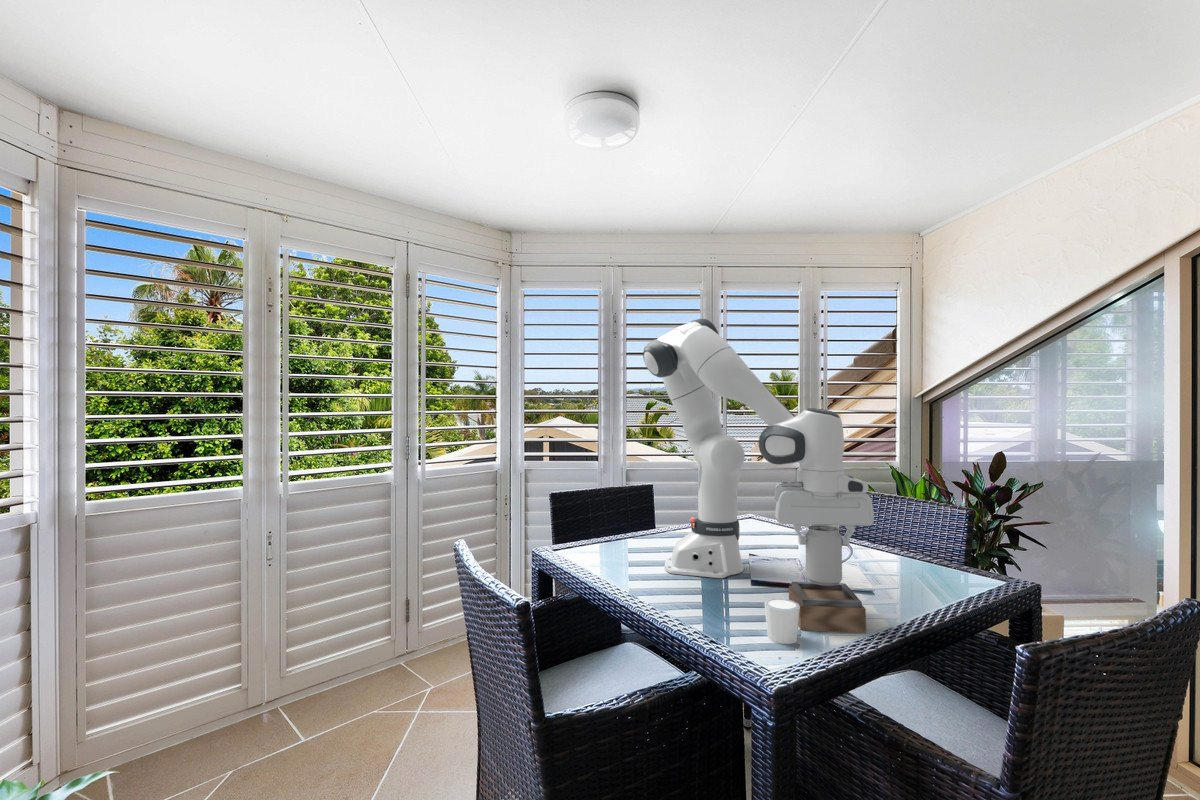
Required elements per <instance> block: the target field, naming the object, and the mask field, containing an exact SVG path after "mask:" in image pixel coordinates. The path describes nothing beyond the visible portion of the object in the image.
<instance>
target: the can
mask: <svg viewBox="0 0 1200 800" xmlns="http://www.w3.org/2000/svg"><path fill="white" fill-rule="evenodd" d="M807 529H808V530H807V531H806V532H805V534H804V535H805V536H806V537H807V541H806V542H807V545H805V577H806V578H807V579H808V580H809V582H812V583H815V584H818V585H824V586H833V585H837V584H838V583H841V582H842V581H843V546H842V536H843V535H842V534H841V533H840V532H839V528H838V527H837V526H834V525H808V528H807Z"/></svg>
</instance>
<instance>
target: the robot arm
mask: <svg viewBox="0 0 1200 800" xmlns="http://www.w3.org/2000/svg"><path fill="white" fill-rule="evenodd" d="M642 352H643V353H642V356H643V362H644V364H645V367H646V368H647V371H648V372H649V373H650V374H651V375H653V376H655V377H657V378H660V379H661V378H662V382H663V385H664V388H665V390H666V393H667V396H668V399H669V400H670V402H671V405H672V406H673V408H674V410H675V412H676V414H677V416H678V418H679V421H680V423H681V425H682V427H683V431H684V433H685V437H686V439H687V441H688V445H689V447H690V449H691V452H692V455H693V457H694V459H695V461H696V462H697V464H699V465H700V466H701V468H702V469H701V477H700V478H701V479H700V483H699V484H700V485H699V489H698V490H697V493H698V495H697V499H698V501H697V503H698V505H697V508H698V509H697V510H698V513H697V514H698V517H697V518H696V517H694V516H693V517H691V518H690V519H689V523H690V527H691V528H690V529H691V531H690V532H689V533H687V534H686V535H685V536H683V537H682V538H680V539H679V540H677V541H676V542H675V544H674V546H673V549H672V553H671V556H670V557H668V558H667V559H666V560H665V562H664V569H665V571H666V572H667V573H670V574H673V575H682V576H694V577H695V576H696V577H705V578H714V579H725V578H726V577H730V576H734V575H737V574H740V573H742V572H744V569H745V568H744V565H743V562H742V556H741V551H740V543H739V540H740V536H741V535H740V531H741V530H740V527H741V526H740V521H739V519H738V490H739V483H740V480H741V479H740V477H741V472H742V466H743V465H744V462H745V458H746V457H745V450H744V448H743V446H742V445H741V443H740V442H739V441H738V440H737V439H736V438H735V437H733V436H731V435H728V434H726V433H725V431H724V429H723V426H722V422H721V420H720V419H721V418H720V417H719V410H718V407H717V405H716V402H715V401H714V398H713V396H712V394H711V392H712V393H713V394H714V395H716V396H719V397H722V398H725V399H729V400H732V401H735V402H738V403H740V404H743V405H745V406H747V407H748V408H750V409H751V410H752V411H753V412H755V414H757V416H758V417H759V418H760V419H761V420H762V421H763V422H764V423H765V424H766V425H767V427H765V428H764V429H763V430H762V432H760V434H759V438H758V450H759V452H760V454H761V456H762V457H763V459H765V461H766V462H768V463H770V464H773V465H776V466H786V465H792V464H796V463H798V464H800V465H801V481H791V482H790V481H789V482H788V481H780V483H778V484H776V486H775V487H774V490H773V491H774V492H773V493H774V494H773V495H774V499H775V502H776V504H775V511H774V513H775V515H774V516H775V520H776V521H777V522H778V523H779V524H780V525H792V526H793V527H792V528H793V529H794V531H795V533H796V534H797V536H798V539H797V540H798V544H799V546H801V545H805V546H806V545H807V542H806V541H807V537H806V536H805V534H802V532H801V531H800V530H802V525H804V526H805V525H806V526H811V525H828V526H844V527H845V529H846V531H845V533H844V535H841V536H842V547H843V546H844V547H847V546H848V547H849V546H850V539H851V537H852V535H854V532H855V531H856V528H855V526H857V527H861V526H862V527H870V526H872V524H873V523H874V522H875V515H874V506H873V501H872V498H871V496H870V495H869V494H868V492H869V485H868V483H867V482H866V481H864V480H861V479H859V478H855V477H853V476H850V475H846V473H845V471H846V470H845V465H844V463H843V457H844V456H843V455H844V452H845V436H844V435H845V434H844V427H843V421H842V418H841V416H840V415H839V414H838V413H836V412H834V411H832V410H828V409H823V408H816V407H815V408H813V407H811V408H806V409H803V411H801V413H799V414H798V415H795V414H794V413H793V412H792V411H790V409H788V408H787V406H785V404H783V402H781V400H780V399H779V398H778V397H777V396H776V395H775V394H774V393H773V392H772V391H771V390H770V389H769V388H768V387H767V386H766V385H765V384H764V383H763V382H762V381H761V380H760V379H759V377H758V376H757V375H756V374H755V373H754V372H753V371H752V370H751V368H750V367H749V366H748V365H747V364H746V363H745V361H744V360H743V359H742V357H740V356H739V354H738V353H737V352H736V350H735V349H733V347H732V346H731V345H730V344H729V343H728V342H727V341H726V340H725V339H724V338H723V337H722V336H720V334H719V331H718V329H717V327H716V325H714V323H712V321H710V320H708V319H706V318H697V319H693V320H691V321H690V322H688V323H685V324H682V325H679V326H677V327H675V328H672V329H671V330H670V331H668V332H666V333H665V334H663V335H660V337H657V339H656V338H655V339H653V340H651V341H650V342H649V343H647V344H646V346H644V349H643V351H642Z"/></svg>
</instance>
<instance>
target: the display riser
mask: <svg viewBox="0 0 1200 800" xmlns="http://www.w3.org/2000/svg"><path fill="white" fill-rule="evenodd" d="M788 600H791V601H794V602H796V603H798V604H799V606H800V609H799V621H798V629H799V630H800V631H811V632H812V631H814V632H815V631H816V632H817V631H818V632H834V633H835V632H836V633H837V632H839V633H855V634H856V633H857V634H866V632H867V623H866V622H867V620H866V618H867V616H866V615H867V614H866V608H865V606H864V605H863V601H861V599H860V598H859V597H858V596H857V595H856V593H855V592H854V591H853V590H852V589H851V588H850V586H849V585H847V584H846V583H844V582H843V583H841V582H839V583H838V584H837V585H833V586H824V585H818V584H815V583H812V582H811V581H791V585H789V586H788Z"/></svg>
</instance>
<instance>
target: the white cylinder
mask: <svg viewBox="0 0 1200 800" xmlns="http://www.w3.org/2000/svg"><path fill="white" fill-rule="evenodd" d="M799 609H800V606H799V604H798V603H796V602H794V601H791V600H789V599H786V598H768V599H766V600H765V601H764V612H765V623H766V631H767V638H768V639H769V640H770V641H772V642H774V643H776V644H781V645H791V644H794V643H796V642H797V640H798V632H799V631H798V629H799V626H798V621H799Z"/></svg>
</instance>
